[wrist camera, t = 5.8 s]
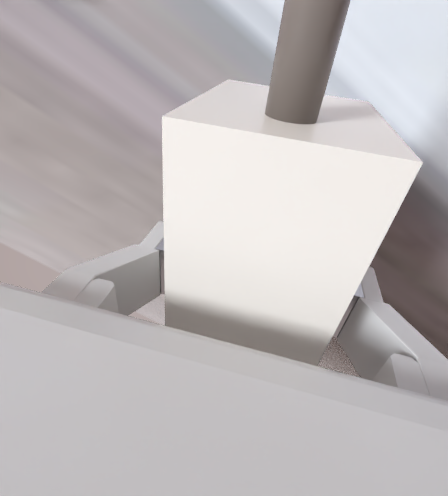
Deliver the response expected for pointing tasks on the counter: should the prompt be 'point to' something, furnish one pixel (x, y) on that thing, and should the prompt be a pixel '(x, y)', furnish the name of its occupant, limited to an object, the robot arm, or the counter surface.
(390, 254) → the counter surface
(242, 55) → the counter surface
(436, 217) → the counter surface
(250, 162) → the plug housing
